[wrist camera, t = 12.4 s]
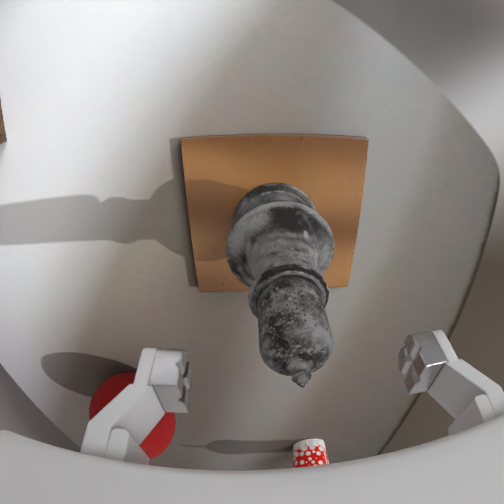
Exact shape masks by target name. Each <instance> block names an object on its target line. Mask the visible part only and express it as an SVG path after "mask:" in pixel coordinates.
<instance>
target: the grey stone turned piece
mask: <svg viewBox="0 0 504 504" xmlns="http://www.w3.org/2000/svg"><path fill="white" fill-rule="evenodd" d="M233 222H234V226H233V228H232V230H231V232H230V234H229V235H228V240H227V245H226V256H227V262H228V264H229V267H230V269H231V271H232V273H233V274H234V275H235V276H236V277H237V279H238V280H239V281H240V282H241V283H243V284H244V285H246V286H247V287H249V288H250V291H249V295H248V300H249V307H250V309H251V311H252V313H253V314H254V315H255V316H256V318H257V319H258V326H259V346H260V353H261V356H262V359H263V361H264V363H265V364H266V365H267V366H269V367H270V368H271V369H272V370H273V371H275V372H277V373H279V374H282V375H286V376H292V381H293V382H295V383H296V384H297V385H299V386H300V387H302V388H303V387H305V385H306V384H307V383H308V381H309V380H310V379H311V374H310V373H312V372H314V371H316V370H318V369H319V368H321V367H322V366H323V365H324V364H325V363H326V361H327V360H328V358H329V357H330V355H331V353H332V349H333V337H332V333H331V329H330V325H329V322H328V318H327V315H326V311H325V307H326V304H327V302H328V297H329V291H328V286H327V283H326V282H325V280H324V278H323V277H322V275H323V274H324V273H325V271H326V270H327V269H328V267H329V265H330V263H331V260H332V258H333V255H334V245H335V243H334V238H333V233H332V230H331V228H330V227H329V225H328V223H327V221H326V220H325V219H324V218H323V217H322V216H321V215H320V214H319V213H318V212H317V211H316V210H315V206H314V204H313V203H312V201H311V199H310V198H309V197H308V196H307V195H306V194H305V193H304V192H303V191H302V190H300V189H298V188H296V187H294V186H293V185H289V184H284V183H268V184H265V185H261V186H258V187H256V188H255V189H253V190H251V191H250V192H248V193H247V194H246V195H245V196H244V197H243V198H242V199H241V200H240V202H239V204H238V206H237V208H236V210H235V214H234V219H233Z"/></svg>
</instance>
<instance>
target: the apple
mask: <svg viewBox="0 0 504 504" xmlns="http://www.w3.org/2000/svg"><path fill="white" fill-rule="evenodd" d="M135 375H136V373H135V372H124V373H120V374H116V375H114V376H112V377H110V378H108V379H106V380H105V381H104V382H103V383H102V384H100V386H99V387H98V389H97V390H96V392H95V393H94V395H93V397H92V400H91V403H90V408H89V416H90V420H91V419H92V418H93V417H94V416H95V415H97V414H98V413H99V412H100V411H101V410H102V409H103V408H104V407H105V406H106V405H107V404H108V403H110V402H111V401H112V400H113V399H114V398H115V397H116V396H117V395H118V394H119V393H120V392H121V391H122V390H124V389H125V388H126V387H127V386H128V385H129V384H133V383H134V379H135ZM175 423H176V422H175V414H174V412H165V414H164V416H163V417H162V418H161V419H160V421H159V422H158V423H157V424H156V426H155V427H154V428H153V429H152V431H151V432H150V433H149V434H148V435H147V437H146V438H145V439H144V440H143V442H142V443H141V444H140V445H139V446H140V447H141V449H142V450H143V451H144V452H145V453H146V455H147V456H148V457H149V458H150V459H151V458H155V457H157V456H159V455H160V454H162V453H163V452H164V450H165V449H166V448H167V447H168V445H169V444H170V442H171V440H172V438H173V436H174V432H175Z"/></svg>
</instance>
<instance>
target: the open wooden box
mask: <svg viewBox="0 0 504 504" xmlns="http://www.w3.org/2000/svg"><path fill="white" fill-rule="evenodd" d="M6 141H7V140H6V134H5V129H4V122H3V116H2V109H1V101H0V144H1V143H4V142H6Z"/></svg>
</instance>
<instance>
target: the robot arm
mask: <svg viewBox="0 0 504 504" xmlns="http://www.w3.org/2000/svg"><path fill="white" fill-rule="evenodd" d="M404 343H405V346H404V347H403V348H402V349H401V350H400V352H399V355H398V365H399V369H400V371H401V373H403V374H404V375H405V376H406V377H405V380H404V382H405V384H406V387H407V390H408V392H409V394H414V393H419V392H424V391H427V392H428V393H429V394H430V395H431V396H432V397H433V398H434V399H435V400H436V401H437V402H438V403H439V404H440V405H441V406H442V407H443V408H444V409H446V410H447V411H448V412H449V413H450V414H451V415H452V416H453V417H454V418H455V419H456V420H455V421H454V422H453V423H452V424H451V425H450V426H449V428H448V432H449V436H447V437H444V438H441V439H437V440H434V441H431V442H428V443H424V444H421V445H417V446H414V447H410V448H407V449H403V450H399V451H395V452H391V453H386V454H382V455H377V456H372V457H367V458H362V459H357V460H351V461H345V462H339V463H332V464H325V465H317V466H309V467H299V468H287V469H272V470H243V471H225V470H196V469H181V468H169V467H159V466H151V465H149V460H150V458H149V457H148V456H147V455H146V453H145V452H144V451H143V450H142V449H141V447H140V446H139V445H140V444H141V443H142V442H143V440H144V439H145V438H146V437H147V435H148V434H149V433H150V432H151V431H152V429H153V428H154V427H155V426H156V424H157V423H158V422H159V421H160V419H161V418H162V417H163V416H164V414H165V412H175V413H188V405H189V395H188V392H187V391H188V390H189V388H190V387H191V368H190V364H189V363H188V362H187V353H186V350H182V349H162V348H144V349H143V350H142V352H141V356H140V360H139V364H138V367H137V371H136V375H135V379H134V383H133V384H129V385H128V386H127V387H126V388H125V389H124V390H122V391H121V392H120V393H119V394H118V395H117V396H116V397H115V398H114V399H113V400H112V401H111V402H110V403H108V404H107V405H106V406H105V407H104V408H103V409H102V410H101V411H100V412H99V413H98V414H97V415H95V416H94V417H93V418H92V419H91V420H90V421H89V422H88V424H87V428H86V432H85V435H84V439H83V443H82V447H81V450H80V453H79V452H75V451H70V450H67V449H63V448H59V447H56V446H52V445H49V444H45V443H42V442H39V441H36V440H33V439H29V438H27V437H24V436H21V435H18V434H16V433H13V432H10V431H7V430H1V431H0V504H504V393H503V390H502V388H501V387H500V386H499V385H498V384H496V383H495V382H493V381H492V380H491V379H489V378H488V377H486V376H485V375H483V374H482V373H481V372H479V371H478V370H476V369H475V368H473V367H472V366H471V365H469V364H468V363H466V362H465V361H463V360H462V359H460V360H459V359H458V358H457V356H456V354H455V352H454V350H453V348H452V346H451V344H450V343H449V341H448V339H447V337H446V335H445V334H444V332H443V331H442V330H437V331H431V332H423V333H417V334H411V335H408V336H407V337H406V339H405V341H404Z"/></svg>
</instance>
